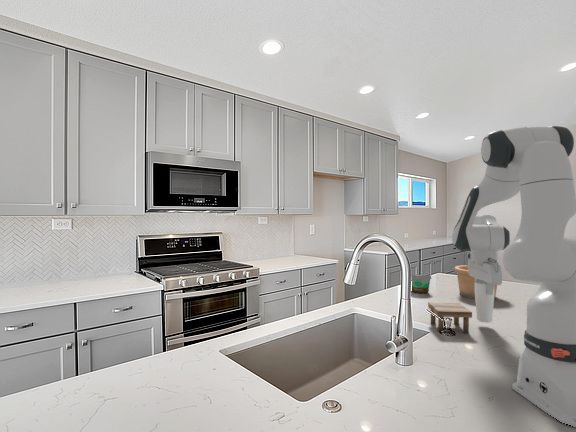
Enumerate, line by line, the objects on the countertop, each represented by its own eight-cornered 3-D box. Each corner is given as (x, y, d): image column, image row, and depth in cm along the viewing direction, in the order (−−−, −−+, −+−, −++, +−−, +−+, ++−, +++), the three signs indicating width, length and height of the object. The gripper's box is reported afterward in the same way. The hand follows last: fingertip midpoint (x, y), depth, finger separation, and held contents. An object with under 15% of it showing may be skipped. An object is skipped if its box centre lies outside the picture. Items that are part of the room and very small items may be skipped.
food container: (408, 293, 182) (408, 275, 182) (407, 290, 188) (407, 273, 188) (432, 295, 179) (432, 276, 178) (431, 292, 184) (431, 274, 184)
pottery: (447, 295, 179) (447, 268, 179) (463, 288, 194) (463, 263, 193) (493, 303, 163) (493, 274, 163) (506, 295, 178) (507, 268, 177)
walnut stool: (471, 333, 123) (472, 312, 123) (438, 332, 125) (438, 311, 125) (458, 322, 135) (458, 303, 135) (428, 321, 137) (428, 302, 136)
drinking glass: (497, 324, 127) (497, 284, 127) (478, 323, 128) (478, 284, 128) (490, 318, 133) (490, 281, 133) (472, 317, 135) (472, 280, 135)
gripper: (507, 260, 120) (507, 298, 120) (480, 253, 140) (480, 286, 141) (488, 260, 121) (488, 298, 121) (465, 253, 141) (465, 286, 141)
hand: (484, 291), depth 131 cm, fingers closed on drinking glass, 7 cm apart
